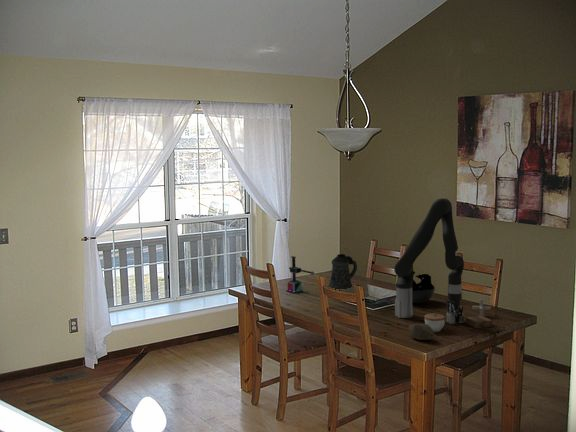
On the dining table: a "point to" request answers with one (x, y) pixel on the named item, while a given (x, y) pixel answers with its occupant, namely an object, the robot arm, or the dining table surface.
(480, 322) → the stand
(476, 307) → the pipe connector
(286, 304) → the dining table surface
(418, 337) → the stone
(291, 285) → the magnetic base gauge holder
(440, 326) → the lidded jar
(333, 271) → the beer stein
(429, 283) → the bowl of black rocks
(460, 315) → the robot arm
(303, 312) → the dining table surface
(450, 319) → the housing
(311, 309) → the dining table surface
